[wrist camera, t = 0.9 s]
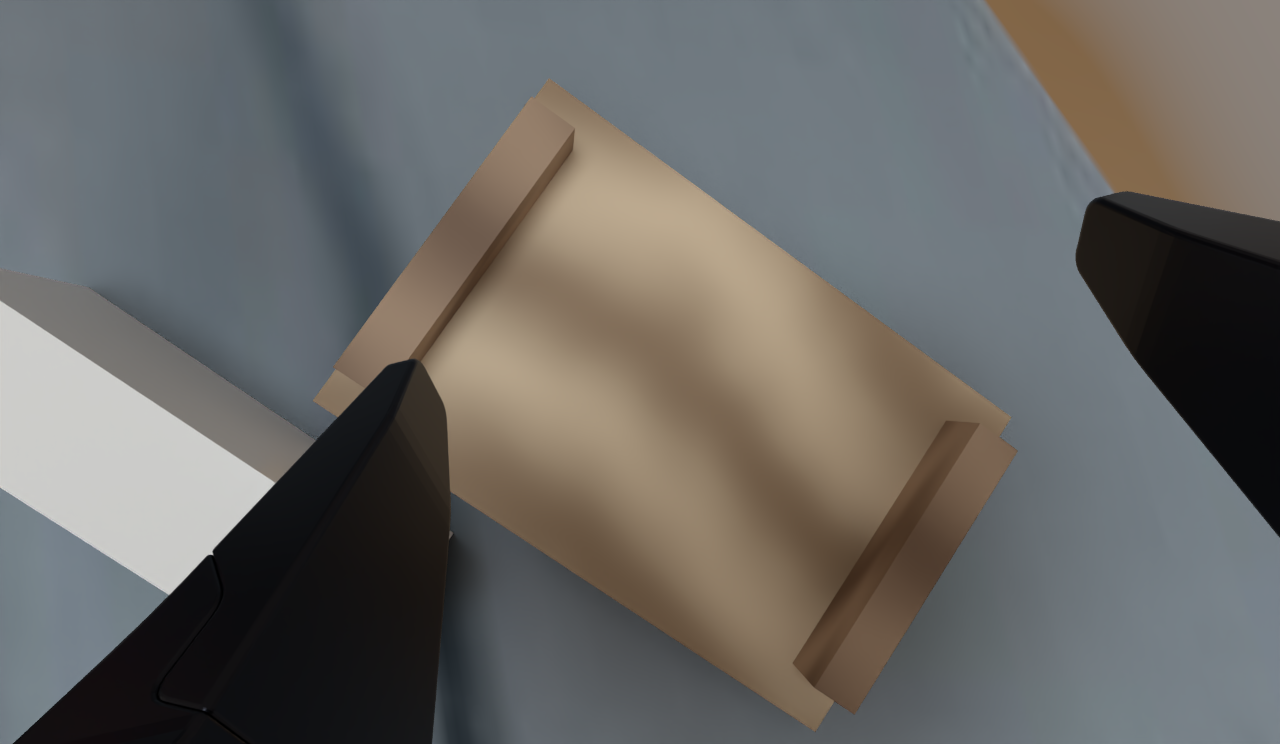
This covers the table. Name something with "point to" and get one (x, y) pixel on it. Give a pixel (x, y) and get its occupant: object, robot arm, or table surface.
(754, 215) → the table surface
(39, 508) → the white rectangular block
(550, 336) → the wooden tray
